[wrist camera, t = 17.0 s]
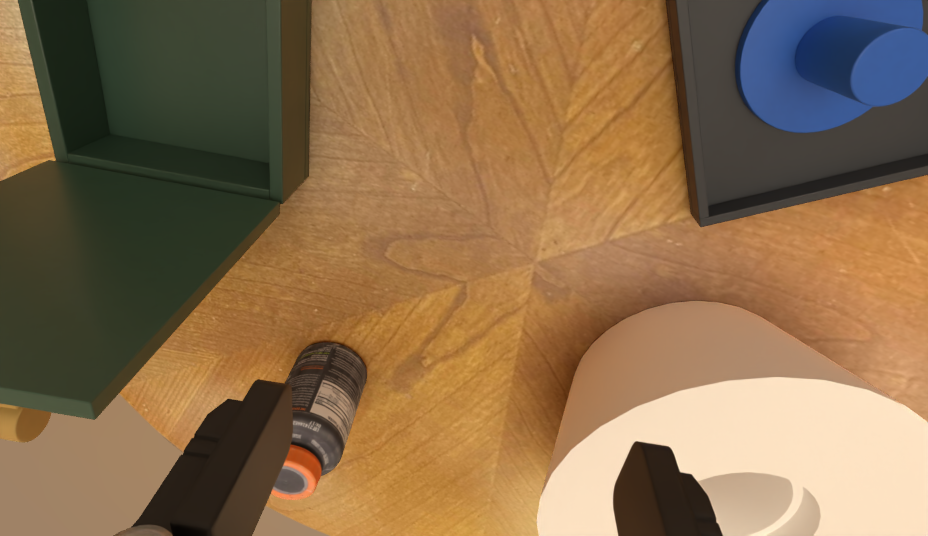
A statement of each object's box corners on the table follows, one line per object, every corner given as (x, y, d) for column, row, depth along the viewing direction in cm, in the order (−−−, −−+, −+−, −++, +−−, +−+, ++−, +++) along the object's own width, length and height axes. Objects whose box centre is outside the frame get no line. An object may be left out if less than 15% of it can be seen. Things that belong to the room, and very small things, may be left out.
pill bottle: (300, 389, 46) (244, 505, 36) (295, 335, 43) (233, 446, 33) (368, 398, 46) (330, 516, 36) (368, 344, 43) (328, 457, 33)
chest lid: (-340, 329, 17) (-259, 433, 19) (91, 403, 17) (115, 496, 19) (48, 159, 31) (66, 232, 33) (280, 201, 31) (280, 270, 34)
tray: (656, -81, 27) (666, -84, 25) (999, -203, 24) (1039, -216, 22) (690, 213, 35) (700, 227, 33) (952, 151, 32) (978, 163, 30)
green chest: (55, -150, 28) (-24, -169, 24) (313, -100, 28) (279, -110, 24) (108, 139, 36) (56, 163, 31) (309, 176, 36) (283, 204, 32)
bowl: (800, 488, 48) (881, 635, 37) (531, 485, 50) (537, 622, 40) (886, 254, 36) (1040, 375, 25) (527, 264, 38) (535, 378, 28)
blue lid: (729, -13, 28) (782, -6, 23) (921, -74, 26) (1029, -83, 21) (739, 147, 32) (786, 185, 27) (906, 104, 30) (993, 136, 25)
